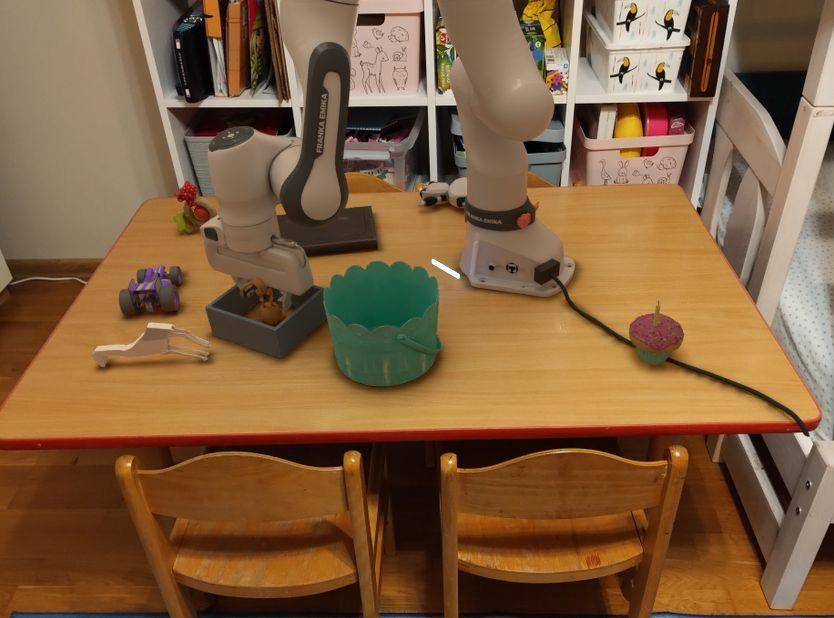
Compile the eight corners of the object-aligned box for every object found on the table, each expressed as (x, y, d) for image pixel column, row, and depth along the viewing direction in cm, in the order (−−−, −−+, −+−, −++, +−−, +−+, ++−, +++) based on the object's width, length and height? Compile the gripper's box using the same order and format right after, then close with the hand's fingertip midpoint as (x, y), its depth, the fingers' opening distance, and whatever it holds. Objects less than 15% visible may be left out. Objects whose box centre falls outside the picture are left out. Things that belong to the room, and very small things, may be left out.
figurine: (296, 313, 130) (285, 256, 123) (294, 333, 126) (283, 275, 118) (250, 317, 130) (236, 260, 122) (246, 337, 125) (232, 279, 118)
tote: (330, 316, 129) (325, 288, 126) (281, 359, 120) (275, 330, 116) (263, 295, 136) (257, 268, 132) (212, 335, 126) (204, 307, 122)
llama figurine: (202, 383, 125) (93, 358, 121) (214, 333, 119) (99, 305, 114) (200, 390, 124) (90, 365, 119) (212, 340, 118) (96, 312, 113)
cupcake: (669, 378, 112) (682, 316, 105) (617, 361, 116) (626, 300, 109) (685, 349, 118) (699, 287, 111) (635, 334, 122) (645, 273, 114)
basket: (335, 324, 127) (326, 262, 119) (438, 318, 128) (435, 255, 120) (329, 396, 112) (318, 329, 104) (446, 388, 113) (444, 321, 105)
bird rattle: (216, 229, 162) (176, 215, 160) (226, 187, 155) (184, 172, 153) (208, 243, 157) (167, 228, 155) (217, 200, 150) (174, 185, 148)
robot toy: (417, 217, 160) (484, 215, 157) (414, 199, 157) (482, 196, 154) (425, 193, 169) (488, 190, 167) (422, 175, 166) (487, 172, 164)
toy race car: (190, 272, 143) (181, 244, 139) (177, 315, 131) (168, 285, 127) (141, 277, 142) (131, 248, 138) (124, 320, 131) (113, 290, 127)
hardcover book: (268, 225, 158) (266, 215, 156) (372, 214, 160) (371, 205, 158) (264, 262, 145) (262, 252, 144) (377, 250, 147) (377, 240, 146)
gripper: (314, 235, 114) (326, 306, 122) (217, 210, 122) (234, 278, 131) (290, 253, 110) (303, 326, 118) (191, 226, 118) (210, 296, 126)
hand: (266, 301), depth 125 cm, fingers open, 7 cm apart
